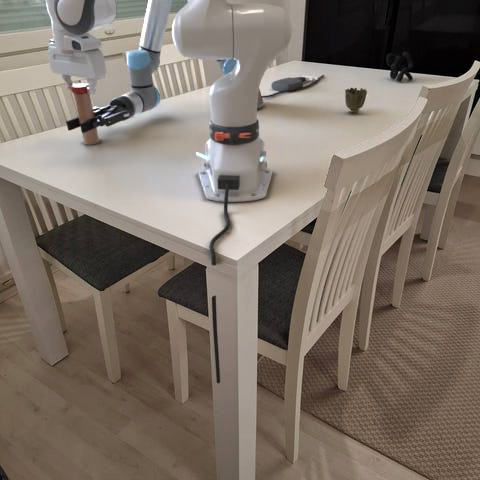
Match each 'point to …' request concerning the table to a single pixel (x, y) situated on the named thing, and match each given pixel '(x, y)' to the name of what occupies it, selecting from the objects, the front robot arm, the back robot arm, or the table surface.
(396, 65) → the squiggle
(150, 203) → the table surface
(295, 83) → the spray bottle
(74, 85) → the lid
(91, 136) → the jar
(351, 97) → the olive tapered piece
